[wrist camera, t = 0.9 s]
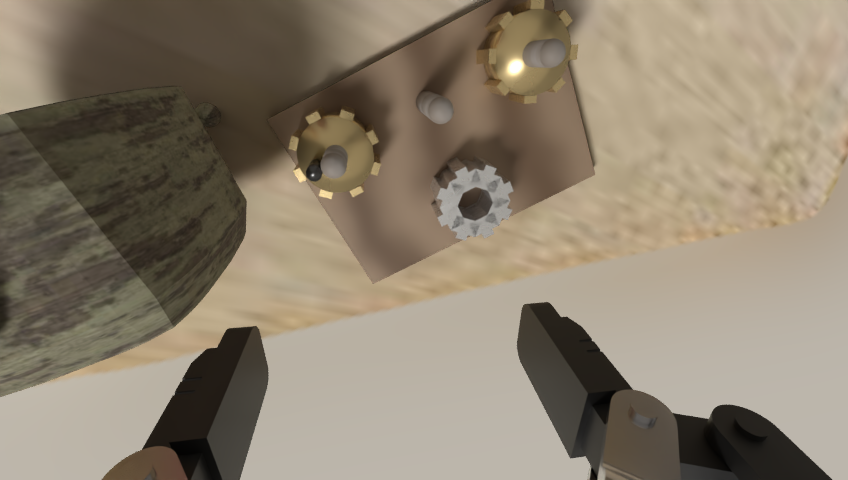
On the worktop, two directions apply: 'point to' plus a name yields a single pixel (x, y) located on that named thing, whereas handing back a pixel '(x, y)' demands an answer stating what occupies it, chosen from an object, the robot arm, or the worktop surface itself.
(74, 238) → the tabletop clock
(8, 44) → the worktop surface
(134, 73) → the worktop surface
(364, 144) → the gear
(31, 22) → the worktop surface
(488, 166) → the steel gear
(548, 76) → the gear
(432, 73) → the gear board
